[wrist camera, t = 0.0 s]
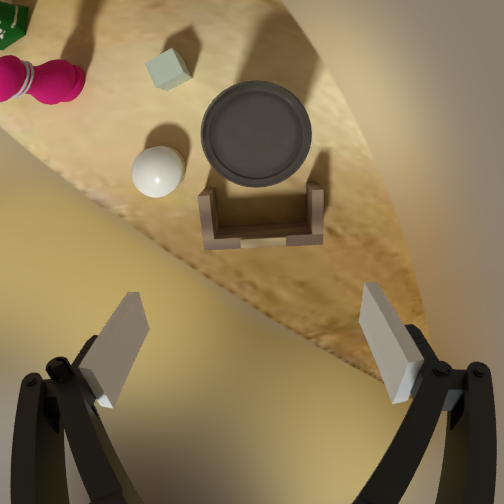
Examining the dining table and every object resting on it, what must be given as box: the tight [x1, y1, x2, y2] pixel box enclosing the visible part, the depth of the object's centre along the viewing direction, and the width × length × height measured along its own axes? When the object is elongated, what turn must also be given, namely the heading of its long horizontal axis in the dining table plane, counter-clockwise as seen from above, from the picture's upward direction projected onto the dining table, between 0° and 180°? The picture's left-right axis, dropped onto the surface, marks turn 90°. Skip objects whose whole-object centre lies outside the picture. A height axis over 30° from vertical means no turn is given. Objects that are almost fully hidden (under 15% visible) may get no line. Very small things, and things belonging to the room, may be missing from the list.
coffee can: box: [201, 81, 312, 188], centre depth 32 cm, size 10×10×14 cm
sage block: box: [145, 48, 192, 91], centre depth 33 cm, size 4×4×5 cm
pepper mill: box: [0, 55, 85, 105], centre depth 26 cm, size 7×7×20 cm
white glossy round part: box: [132, 145, 185, 197], centre depth 40 cm, size 7×7×4 cm
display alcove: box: [198, 183, 324, 250], centre depth 41 cm, size 8×16×5 cm, turn 94°
